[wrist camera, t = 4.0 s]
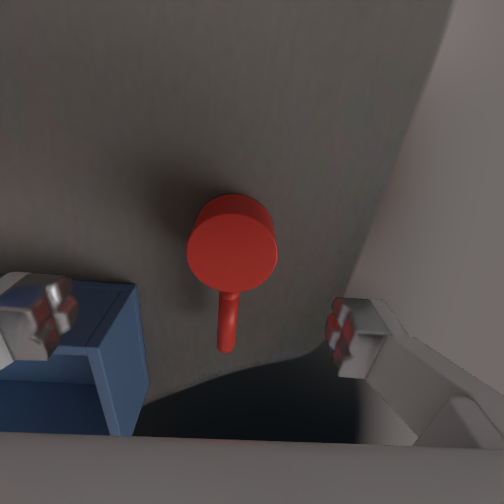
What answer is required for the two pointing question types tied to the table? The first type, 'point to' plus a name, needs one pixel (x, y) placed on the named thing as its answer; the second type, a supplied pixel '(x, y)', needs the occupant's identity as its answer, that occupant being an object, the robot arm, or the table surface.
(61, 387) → the blue bin
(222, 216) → the red scoop
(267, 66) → the table surface
